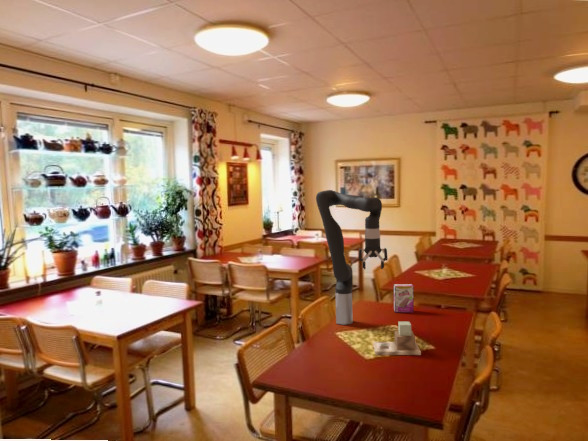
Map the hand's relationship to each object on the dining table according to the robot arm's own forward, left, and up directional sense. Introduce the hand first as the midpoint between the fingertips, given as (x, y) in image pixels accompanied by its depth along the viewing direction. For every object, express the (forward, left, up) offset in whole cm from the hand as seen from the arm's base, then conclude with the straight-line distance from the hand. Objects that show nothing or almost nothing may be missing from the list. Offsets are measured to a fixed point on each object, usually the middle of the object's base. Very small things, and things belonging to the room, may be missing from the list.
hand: (373, 268), depth 210 cm
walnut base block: (+12, -20, -33) cm, 40 cm away
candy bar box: (+21, +40, -34) cm, 57 cm away
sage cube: (+12, -20, -27) cm, 35 cm away
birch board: (+8, -20, -34) cm, 40 cm away
